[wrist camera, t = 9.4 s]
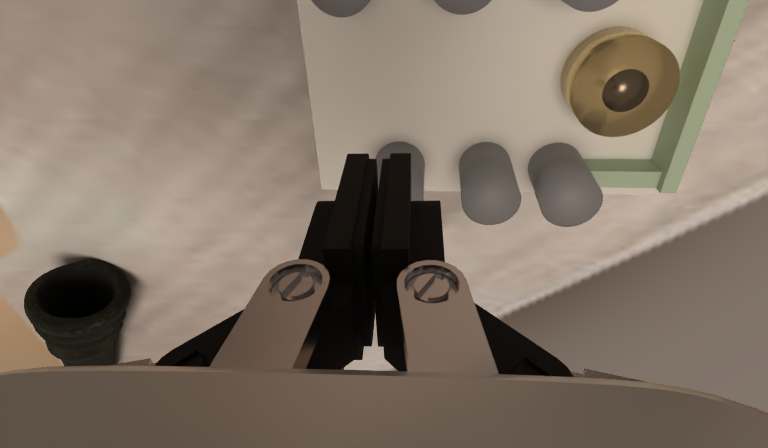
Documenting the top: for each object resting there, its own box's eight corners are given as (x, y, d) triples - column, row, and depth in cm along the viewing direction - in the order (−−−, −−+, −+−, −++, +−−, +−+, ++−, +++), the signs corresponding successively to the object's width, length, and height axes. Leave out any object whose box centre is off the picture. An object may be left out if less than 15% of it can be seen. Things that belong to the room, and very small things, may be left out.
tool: (67, 242, 35) (-1, 301, 30) (148, 274, 36) (97, 336, 31) (58, 413, 51) (11, 473, 45) (115, 432, 52) (77, 493, 46)
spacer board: (293, -76, 22) (258, -74, 17) (739, -96, 20) (823, -98, 15) (325, 180, 30) (306, 224, 25) (646, 184, 28) (684, 234, 23)
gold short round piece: (570, 26, 22) (585, 39, 20) (669, 25, 22) (696, 38, 19) (553, 117, 25) (564, 137, 22) (641, 117, 24) (661, 138, 22)
